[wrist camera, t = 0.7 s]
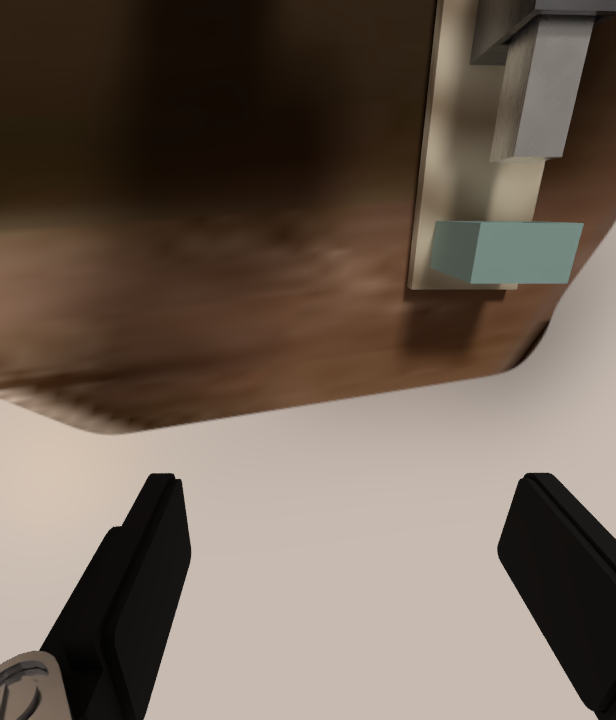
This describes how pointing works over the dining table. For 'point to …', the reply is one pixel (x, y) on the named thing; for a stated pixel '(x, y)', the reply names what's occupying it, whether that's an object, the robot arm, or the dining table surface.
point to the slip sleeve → (523, 22)
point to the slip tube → (540, 88)
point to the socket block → (505, 251)
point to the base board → (463, 150)
